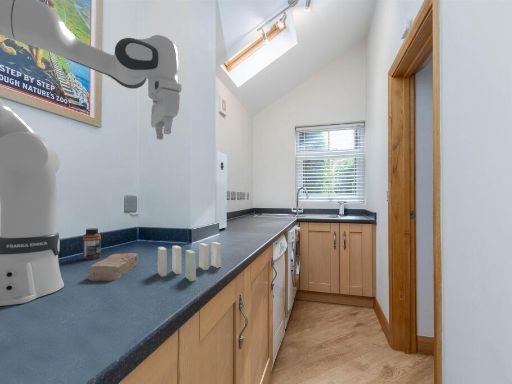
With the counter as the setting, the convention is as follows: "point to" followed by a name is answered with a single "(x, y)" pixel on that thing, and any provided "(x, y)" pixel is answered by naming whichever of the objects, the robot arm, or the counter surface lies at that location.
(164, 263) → the domino
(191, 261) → the pale green domino
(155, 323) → the counter surface
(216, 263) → the domino
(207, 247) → the domino
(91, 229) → the supplement bottle
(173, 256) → the domino
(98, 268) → the brick
